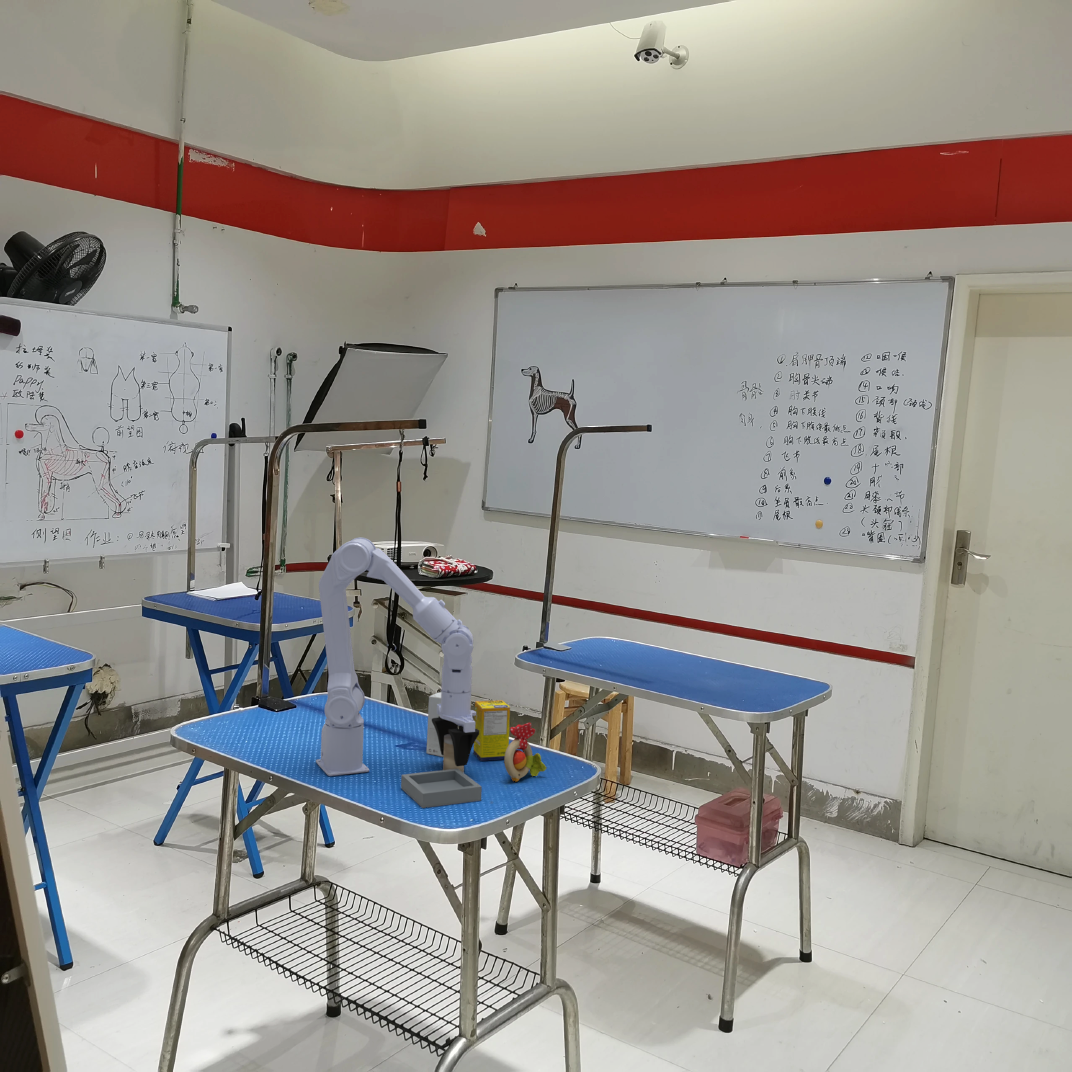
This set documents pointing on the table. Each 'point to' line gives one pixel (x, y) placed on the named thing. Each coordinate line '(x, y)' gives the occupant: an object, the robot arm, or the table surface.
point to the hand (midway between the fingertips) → (453, 759)
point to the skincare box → (431, 732)
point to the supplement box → (491, 729)
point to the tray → (440, 788)
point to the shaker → (449, 755)
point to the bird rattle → (522, 754)
